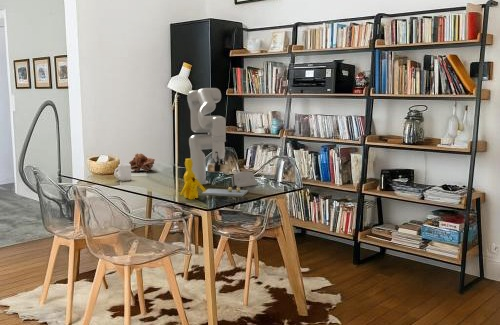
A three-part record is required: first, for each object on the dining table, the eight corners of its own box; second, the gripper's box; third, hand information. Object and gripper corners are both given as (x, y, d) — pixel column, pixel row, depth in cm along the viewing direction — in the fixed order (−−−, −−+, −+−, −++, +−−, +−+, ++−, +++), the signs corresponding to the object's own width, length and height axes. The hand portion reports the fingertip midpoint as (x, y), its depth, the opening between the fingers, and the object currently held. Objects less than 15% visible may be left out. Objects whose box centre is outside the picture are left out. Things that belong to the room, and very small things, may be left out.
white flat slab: (202, 194, 300) (201, 192, 300) (208, 190, 312) (208, 188, 312) (242, 196, 295) (242, 194, 294) (247, 192, 307) (247, 190, 307)
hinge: (237, 187, 323) (233, 171, 324) (232, 188, 327) (229, 173, 328) (258, 184, 333) (254, 169, 334) (253, 186, 337) (250, 171, 338)
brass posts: (227, 191, 302) (227, 187, 302) (228, 191, 304) (228, 187, 304) (239, 192, 300) (239, 188, 300) (240, 191, 302) (240, 187, 302)
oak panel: (207, 171, 294) (207, 164, 293) (210, 170, 299) (210, 163, 299) (227, 172, 291) (227, 165, 290) (230, 170, 297) (230, 163, 296)
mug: (117, 182, 343) (117, 166, 342) (111, 180, 349) (110, 165, 348) (133, 179, 351) (133, 164, 350) (127, 178, 357) (126, 163, 356)
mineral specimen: (131, 174, 400) (127, 155, 399) (156, 170, 404) (152, 151, 403) (130, 175, 378) (126, 155, 378) (157, 170, 382) (153, 150, 382)
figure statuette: (182, 201, 281) (181, 161, 279) (174, 199, 287) (173, 159, 284) (208, 196, 293) (207, 158, 290) (199, 195, 299) (199, 157, 296)
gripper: (216, 137, 302) (217, 167, 304) (207, 140, 285) (208, 172, 288) (229, 137, 300) (229, 168, 303) (221, 140, 283) (221, 173, 286)
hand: (219, 170), depth 295 cm, fingers closed on oak panel, 6 cm apart
